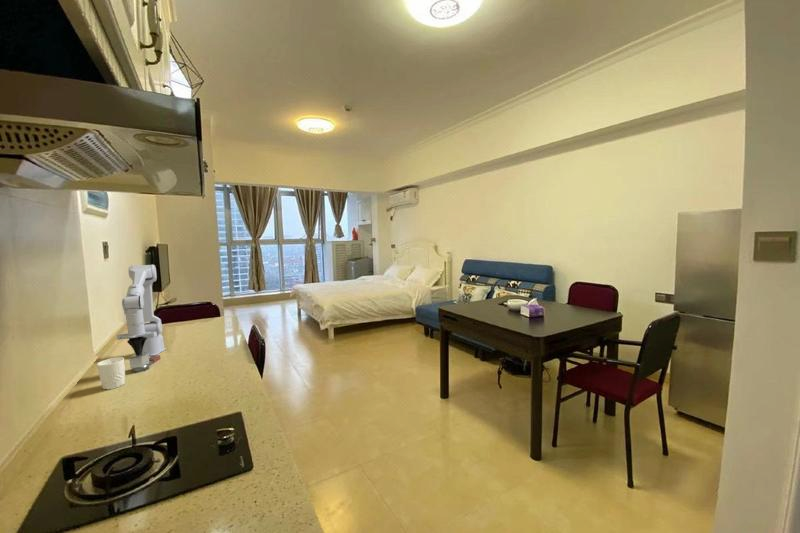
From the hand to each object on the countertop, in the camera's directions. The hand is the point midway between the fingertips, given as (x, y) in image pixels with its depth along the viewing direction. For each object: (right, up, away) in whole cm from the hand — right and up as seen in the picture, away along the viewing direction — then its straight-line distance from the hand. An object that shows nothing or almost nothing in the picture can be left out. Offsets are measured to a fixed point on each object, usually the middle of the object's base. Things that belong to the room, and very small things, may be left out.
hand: (139, 354), depth 142 cm
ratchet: (-1, -7, +5) cm, 8 cm away
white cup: (+2, -9, -14) cm, 17 cm away
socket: (0, -5, 0) cm, 5 cm away
